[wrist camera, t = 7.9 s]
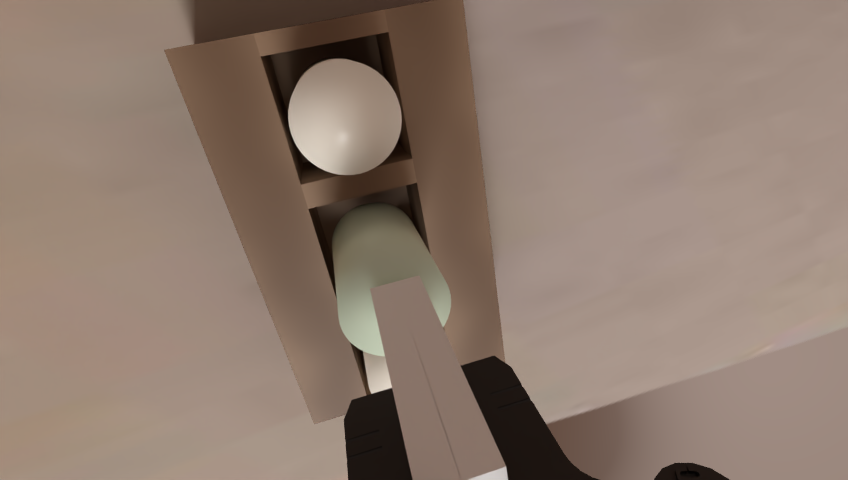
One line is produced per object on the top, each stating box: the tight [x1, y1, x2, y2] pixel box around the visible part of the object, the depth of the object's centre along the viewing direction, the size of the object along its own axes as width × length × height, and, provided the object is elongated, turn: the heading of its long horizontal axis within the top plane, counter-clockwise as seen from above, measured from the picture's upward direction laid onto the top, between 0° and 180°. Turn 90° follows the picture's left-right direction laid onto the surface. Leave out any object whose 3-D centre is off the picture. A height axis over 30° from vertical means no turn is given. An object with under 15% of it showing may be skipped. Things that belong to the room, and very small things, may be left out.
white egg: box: [288, 57, 402, 175], centre depth 16 cm, size 4×4×5 cm
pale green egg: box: [332, 202, 451, 356], centre depth 16 cm, size 4×4×5 cm
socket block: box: [164, 0, 505, 424], centre depth 20 cm, size 10×17×4 cm, turn 10°
